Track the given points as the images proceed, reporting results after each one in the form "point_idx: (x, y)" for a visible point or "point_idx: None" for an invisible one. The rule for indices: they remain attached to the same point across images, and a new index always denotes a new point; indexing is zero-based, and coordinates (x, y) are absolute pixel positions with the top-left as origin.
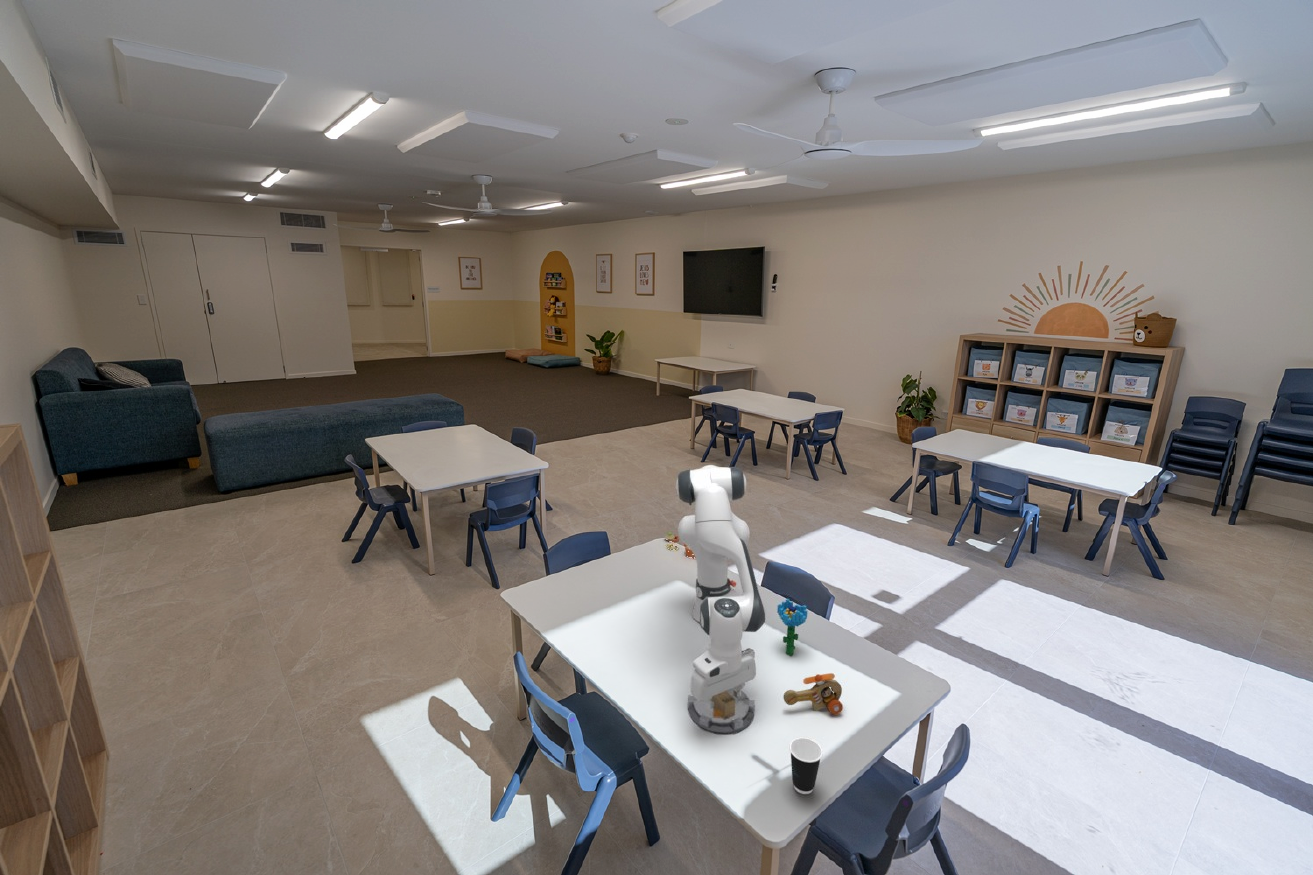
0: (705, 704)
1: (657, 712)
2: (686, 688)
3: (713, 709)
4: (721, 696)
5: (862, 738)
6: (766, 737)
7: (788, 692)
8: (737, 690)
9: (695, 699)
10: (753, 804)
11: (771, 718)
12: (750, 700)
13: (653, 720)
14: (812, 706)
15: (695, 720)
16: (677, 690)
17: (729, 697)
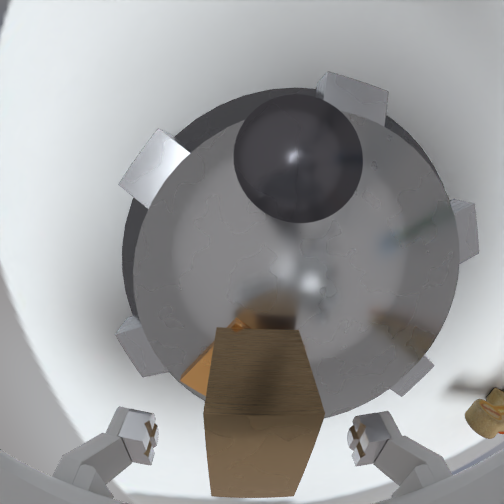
0: (203, 273)
1: (37, 121)
2: (257, 28)
3: (210, 349)
4: (234, 466)
5: (448, 464)
6: (326, 440)
7: (490, 433)
8: (377, 452)
9: (172, 195)
10: (152, 497)
11: (409, 392)
12: (422, 362)
13: (9, 161)
14: (492, 395)
15: (125, 282)
16: (204, 19)
17: (276, 483)
